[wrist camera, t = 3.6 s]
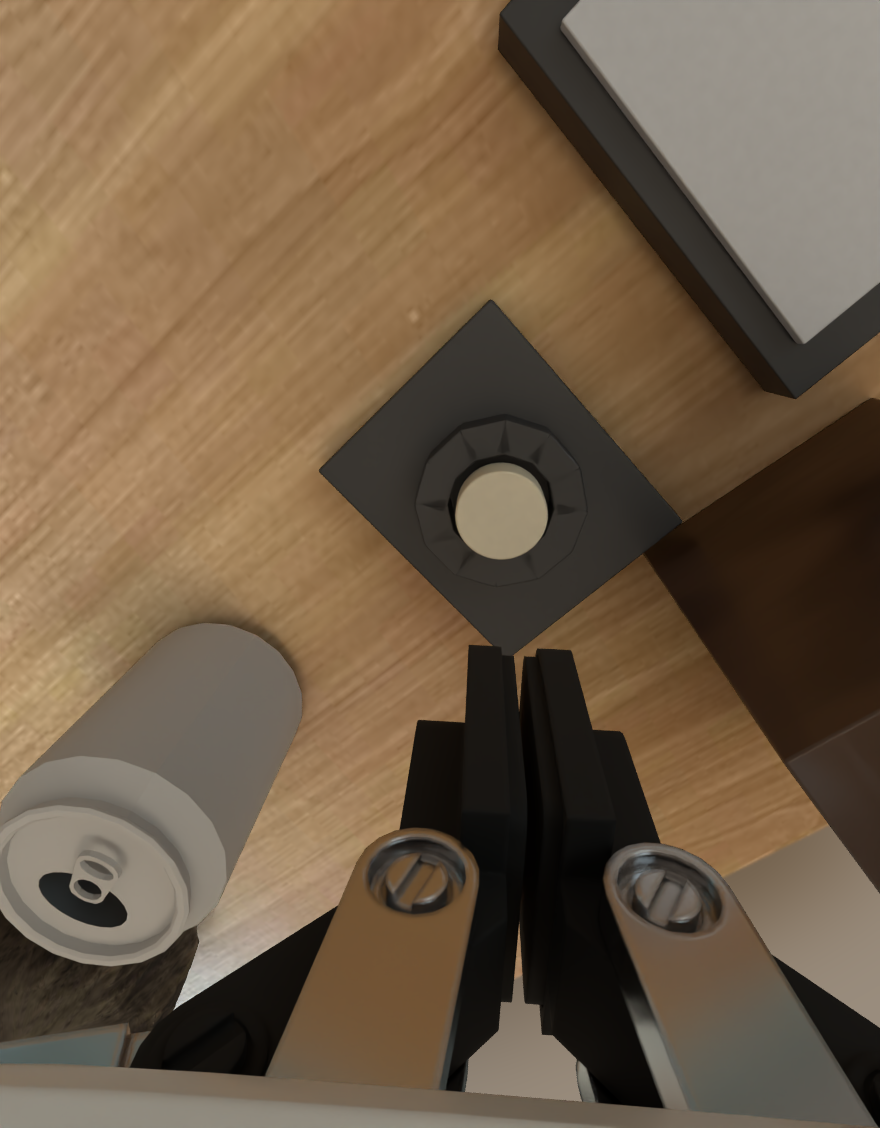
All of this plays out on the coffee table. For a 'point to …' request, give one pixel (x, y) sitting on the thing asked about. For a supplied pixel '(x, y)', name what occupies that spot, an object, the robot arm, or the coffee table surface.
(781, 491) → the stand
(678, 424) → the coffee table surface
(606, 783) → the robot arm
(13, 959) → the rock
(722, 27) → the scale
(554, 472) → the pad
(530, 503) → the button
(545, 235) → the coffee table surface
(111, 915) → the can
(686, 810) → the coffee table surface
